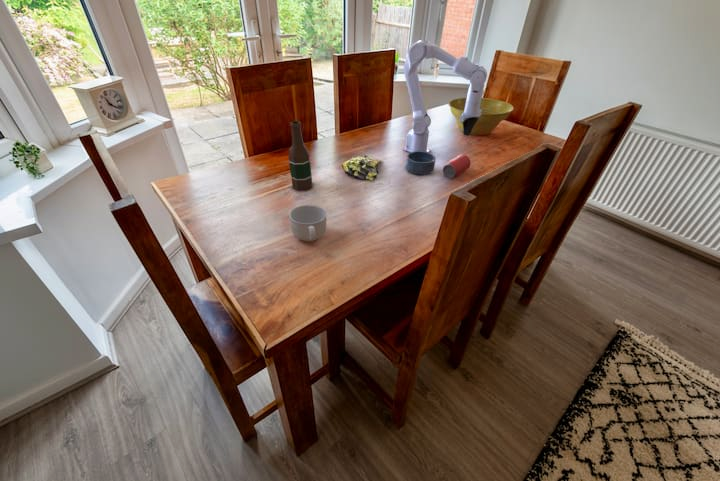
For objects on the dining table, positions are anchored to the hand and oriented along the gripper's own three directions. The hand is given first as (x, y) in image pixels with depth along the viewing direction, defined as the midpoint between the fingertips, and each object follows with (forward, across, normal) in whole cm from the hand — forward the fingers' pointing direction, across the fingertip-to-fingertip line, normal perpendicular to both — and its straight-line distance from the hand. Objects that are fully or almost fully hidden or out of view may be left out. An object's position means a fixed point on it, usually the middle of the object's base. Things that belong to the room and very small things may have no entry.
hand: (466, 134), depth 138 cm
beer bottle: (+11, -67, +28) cm, 73 cm away
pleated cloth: (+11, -39, +22) cm, 46 cm away
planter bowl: (+11, +36, +14) cm, 40 cm away
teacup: (+11, -85, 0) cm, 86 cm away
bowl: (+10, -23, +6) cm, 26 cm away
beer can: (+7, -10, -6) cm, 14 cm away
